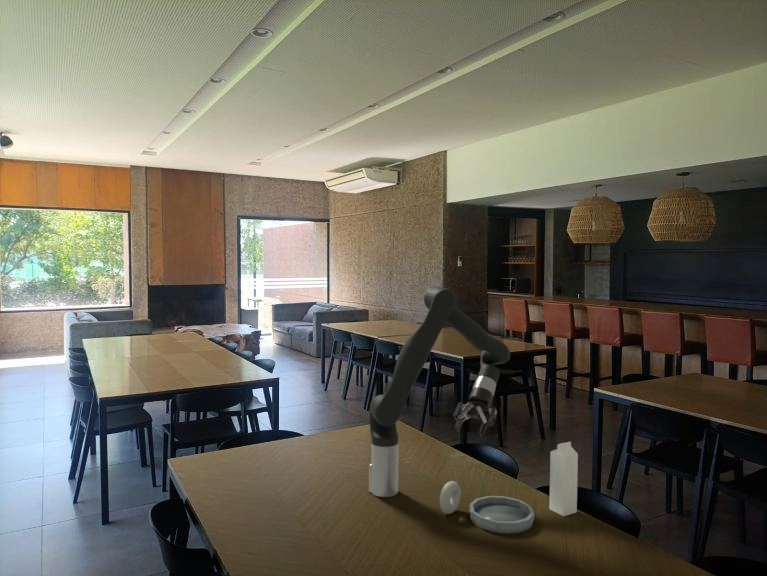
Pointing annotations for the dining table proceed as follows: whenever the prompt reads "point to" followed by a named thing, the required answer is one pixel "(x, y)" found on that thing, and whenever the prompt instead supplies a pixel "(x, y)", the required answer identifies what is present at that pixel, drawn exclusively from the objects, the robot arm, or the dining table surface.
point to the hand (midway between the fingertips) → (468, 432)
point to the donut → (450, 497)
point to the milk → (563, 479)
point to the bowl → (501, 514)
